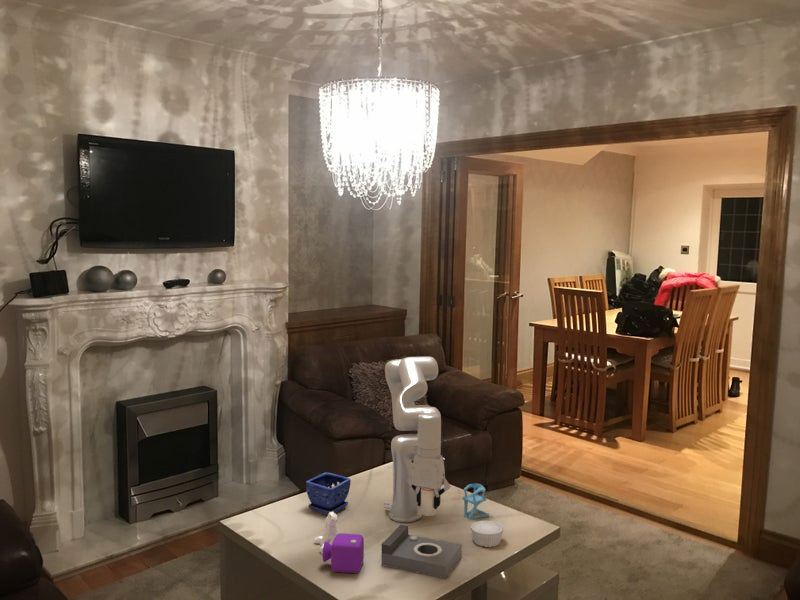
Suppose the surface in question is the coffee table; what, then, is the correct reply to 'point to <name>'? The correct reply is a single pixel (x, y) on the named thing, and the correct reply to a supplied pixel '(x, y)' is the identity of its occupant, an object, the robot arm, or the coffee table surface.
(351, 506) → the coffee table surface
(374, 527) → the coffee table surface
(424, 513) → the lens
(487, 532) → the ramekin
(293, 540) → the coffee table surface
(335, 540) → the toy camera
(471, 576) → the coffee table surface
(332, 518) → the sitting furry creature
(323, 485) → the flower pot
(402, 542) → the camera body
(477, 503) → the chair
